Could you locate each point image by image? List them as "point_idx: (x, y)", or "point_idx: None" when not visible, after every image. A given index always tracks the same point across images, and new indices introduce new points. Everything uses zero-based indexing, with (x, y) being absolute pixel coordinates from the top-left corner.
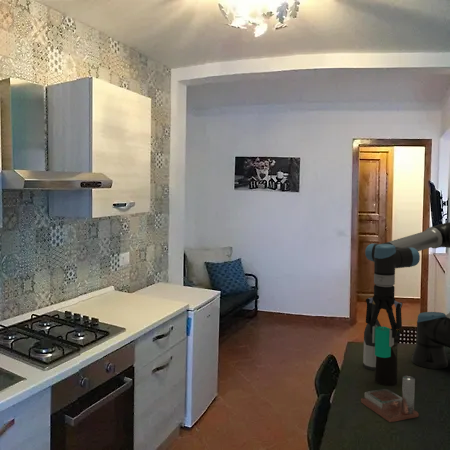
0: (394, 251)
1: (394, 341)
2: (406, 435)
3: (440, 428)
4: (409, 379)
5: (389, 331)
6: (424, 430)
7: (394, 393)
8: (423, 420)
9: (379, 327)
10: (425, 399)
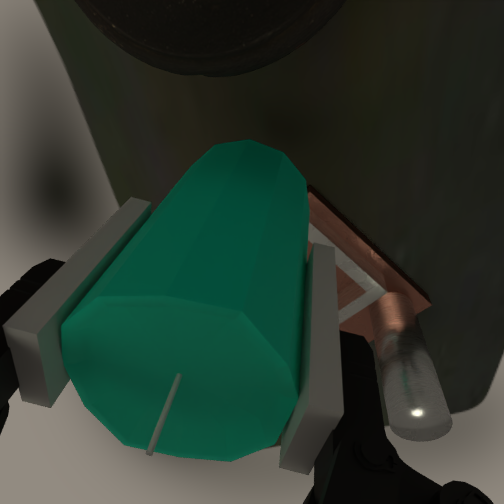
0: None
1: (331, 15)
2: (380, 394)
3: (492, 339)
4: (421, 435)
5: (279, 428)
6: (435, 362)
7: (342, 256)
8: (442, 310)
9: (95, 320)
10: (490, 121)
